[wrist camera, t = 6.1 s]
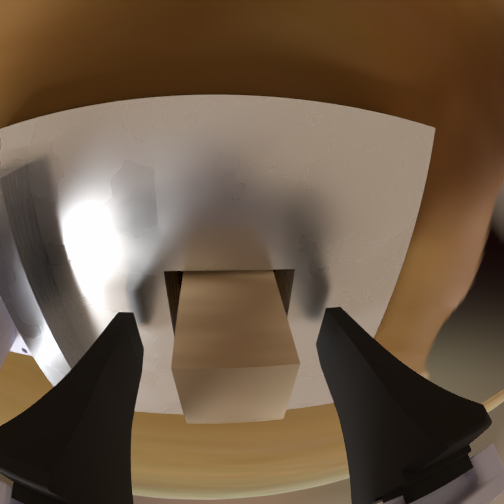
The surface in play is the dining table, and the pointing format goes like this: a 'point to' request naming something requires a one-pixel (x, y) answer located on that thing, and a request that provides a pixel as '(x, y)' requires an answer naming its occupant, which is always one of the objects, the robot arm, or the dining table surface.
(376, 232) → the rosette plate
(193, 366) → the peg
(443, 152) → the dining table surface
